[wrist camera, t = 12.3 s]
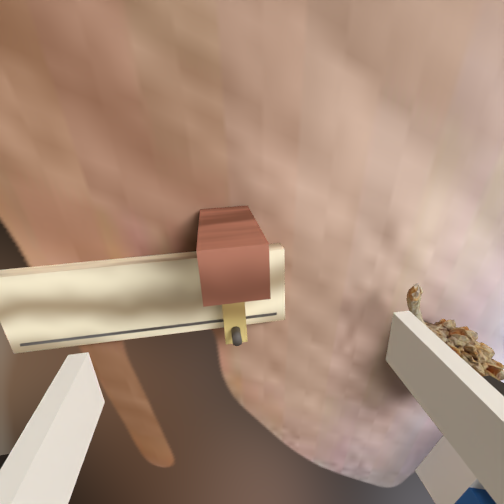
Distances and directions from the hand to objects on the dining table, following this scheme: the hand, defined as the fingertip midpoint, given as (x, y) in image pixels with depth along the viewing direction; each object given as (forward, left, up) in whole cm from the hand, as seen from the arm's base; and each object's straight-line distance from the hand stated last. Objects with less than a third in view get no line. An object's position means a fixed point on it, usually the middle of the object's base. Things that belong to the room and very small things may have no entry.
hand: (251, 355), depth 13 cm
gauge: (+5, 0, -21) cm, 22 cm away
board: (+7, -9, -21) cm, 24 cm away
